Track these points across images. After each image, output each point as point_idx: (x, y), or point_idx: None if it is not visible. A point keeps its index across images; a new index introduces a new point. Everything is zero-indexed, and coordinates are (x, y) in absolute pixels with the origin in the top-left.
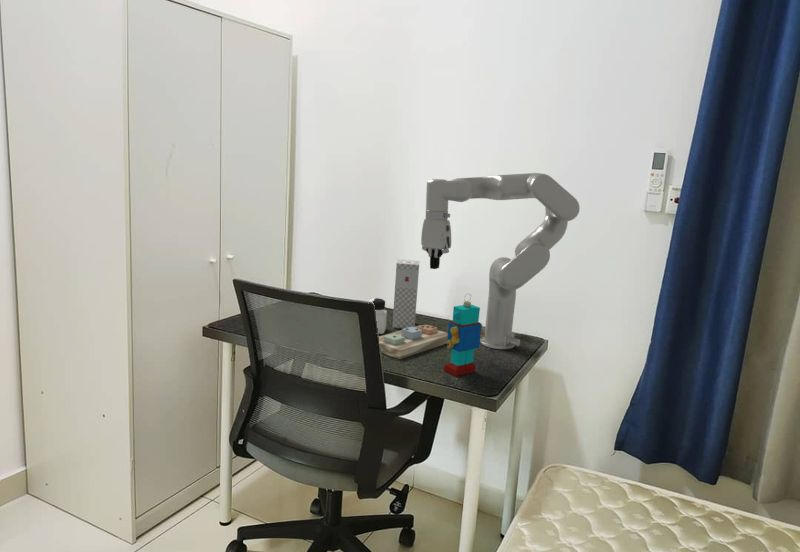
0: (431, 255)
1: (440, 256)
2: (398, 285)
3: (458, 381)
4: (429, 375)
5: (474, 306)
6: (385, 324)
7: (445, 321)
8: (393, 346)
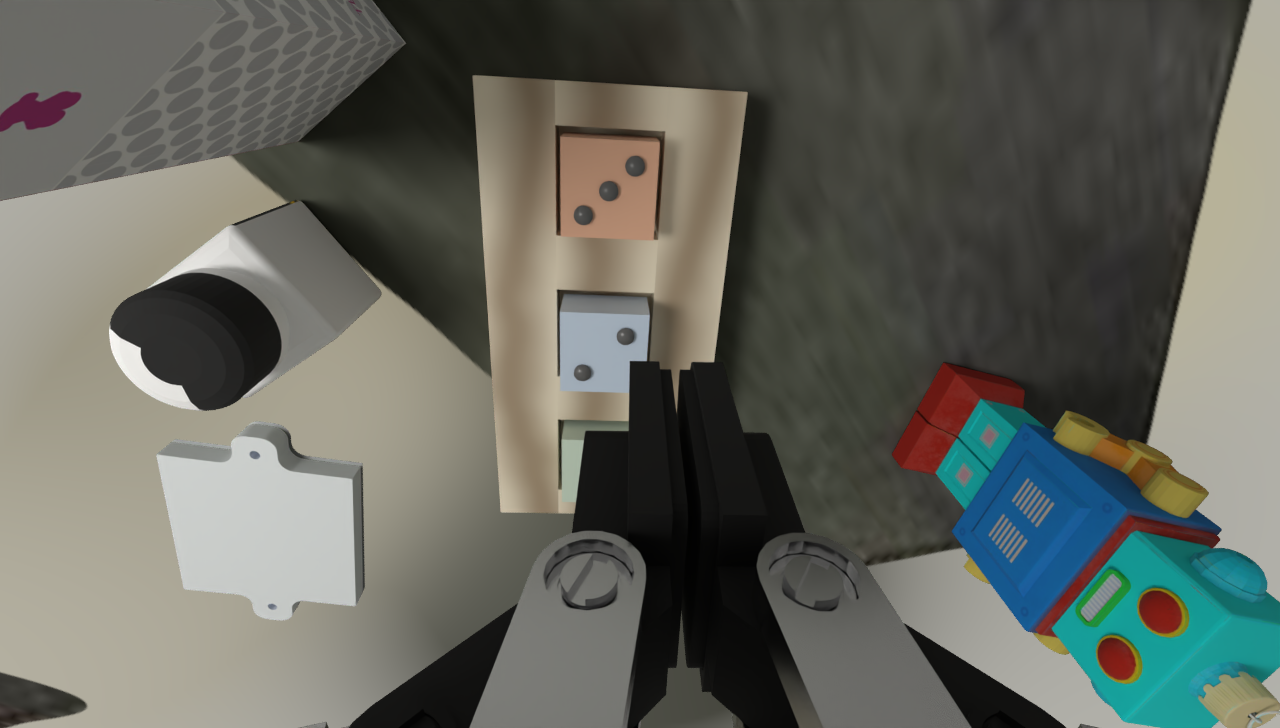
0: (638, 724)
1: (852, 595)
2: (59, 169)
3: None
4: (866, 522)
5: (1273, 640)
6: (315, 244)
7: None
8: None
